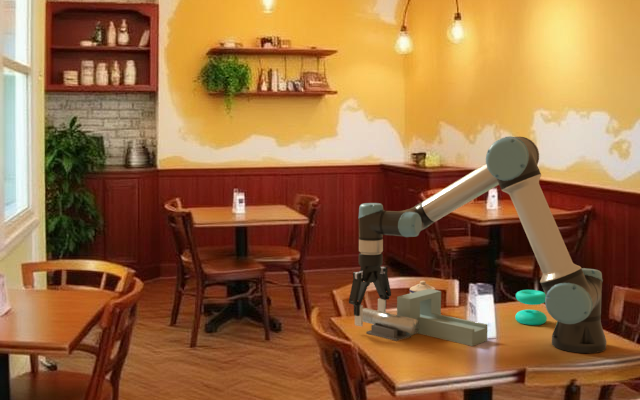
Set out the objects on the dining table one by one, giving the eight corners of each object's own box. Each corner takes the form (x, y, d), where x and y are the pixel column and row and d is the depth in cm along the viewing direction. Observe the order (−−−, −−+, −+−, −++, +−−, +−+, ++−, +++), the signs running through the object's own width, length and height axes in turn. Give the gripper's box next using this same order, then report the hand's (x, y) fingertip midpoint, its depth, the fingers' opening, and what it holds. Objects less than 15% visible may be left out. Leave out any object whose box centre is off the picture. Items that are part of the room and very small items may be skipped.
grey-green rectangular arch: (440, 326, 245) (441, 291, 244) (409, 335, 234) (409, 299, 233) (428, 323, 249) (428, 288, 247) (396, 332, 237) (397, 296, 236)
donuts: (522, 287, 256) (552, 291, 250) (522, 316, 257) (551, 321, 251) (510, 292, 248) (540, 296, 242) (510, 322, 249) (539, 327, 243)
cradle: (411, 336, 233) (411, 327, 232) (396, 341, 228) (396, 332, 228) (381, 329, 241) (381, 320, 241) (366, 333, 236) (366, 324, 236)
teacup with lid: (434, 318, 254) (435, 284, 253) (407, 317, 256) (407, 283, 255) (437, 310, 266) (438, 277, 265) (411, 308, 268) (411, 276, 267)
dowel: (418, 334, 228) (420, 319, 229) (409, 333, 225) (411, 318, 225) (368, 322, 242) (370, 308, 243) (359, 321, 239) (361, 307, 240)
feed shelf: (487, 340, 228) (487, 324, 228) (472, 346, 222) (472, 329, 222) (433, 328, 242) (433, 312, 242) (417, 333, 237) (417, 317, 236)
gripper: (385, 247, 248) (384, 314, 250) (336, 255, 232) (336, 326, 234) (403, 249, 243) (402, 318, 245) (354, 258, 227) (354, 331, 229)
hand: (370, 322), depth 240 cm, fingers open, 10 cm apart
